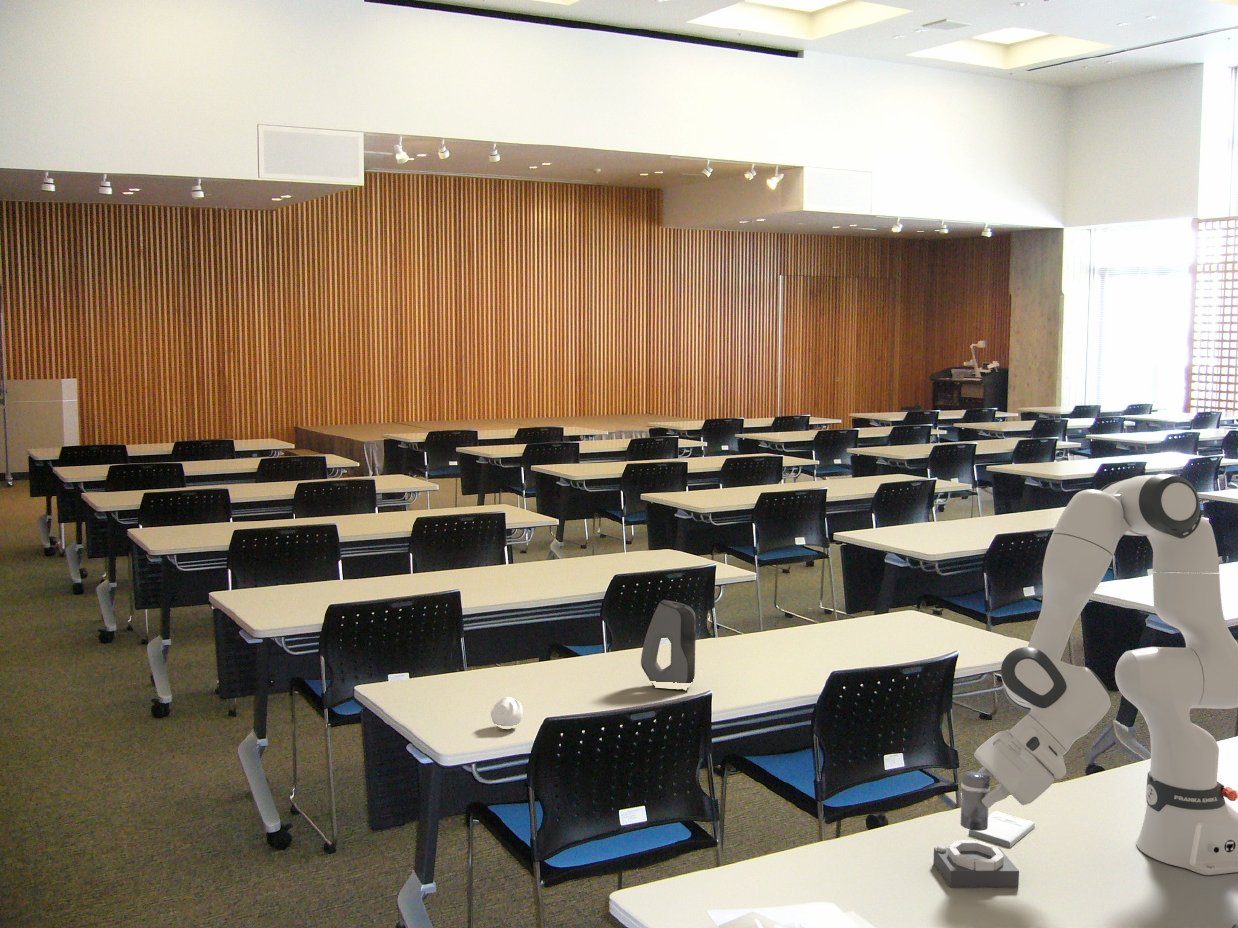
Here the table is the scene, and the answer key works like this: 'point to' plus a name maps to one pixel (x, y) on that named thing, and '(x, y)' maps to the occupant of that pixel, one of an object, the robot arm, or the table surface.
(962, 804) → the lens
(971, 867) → the octagonal socket base
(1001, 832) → the external hard drive
